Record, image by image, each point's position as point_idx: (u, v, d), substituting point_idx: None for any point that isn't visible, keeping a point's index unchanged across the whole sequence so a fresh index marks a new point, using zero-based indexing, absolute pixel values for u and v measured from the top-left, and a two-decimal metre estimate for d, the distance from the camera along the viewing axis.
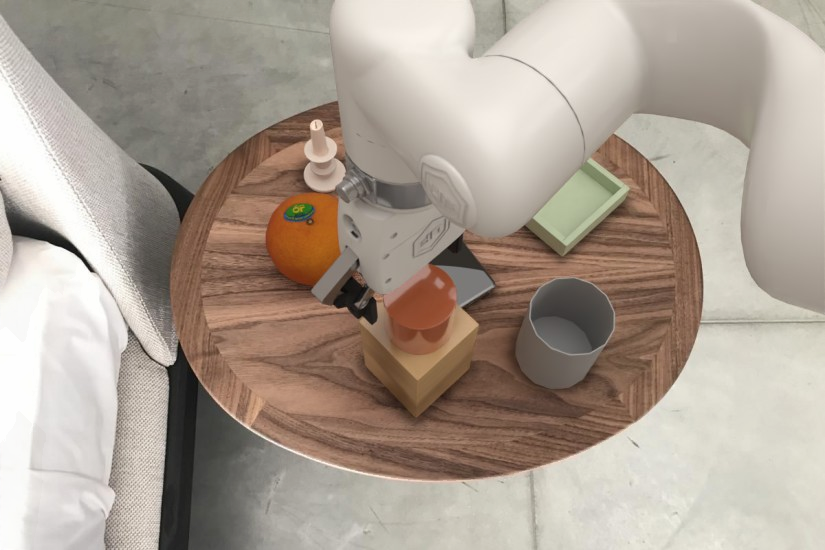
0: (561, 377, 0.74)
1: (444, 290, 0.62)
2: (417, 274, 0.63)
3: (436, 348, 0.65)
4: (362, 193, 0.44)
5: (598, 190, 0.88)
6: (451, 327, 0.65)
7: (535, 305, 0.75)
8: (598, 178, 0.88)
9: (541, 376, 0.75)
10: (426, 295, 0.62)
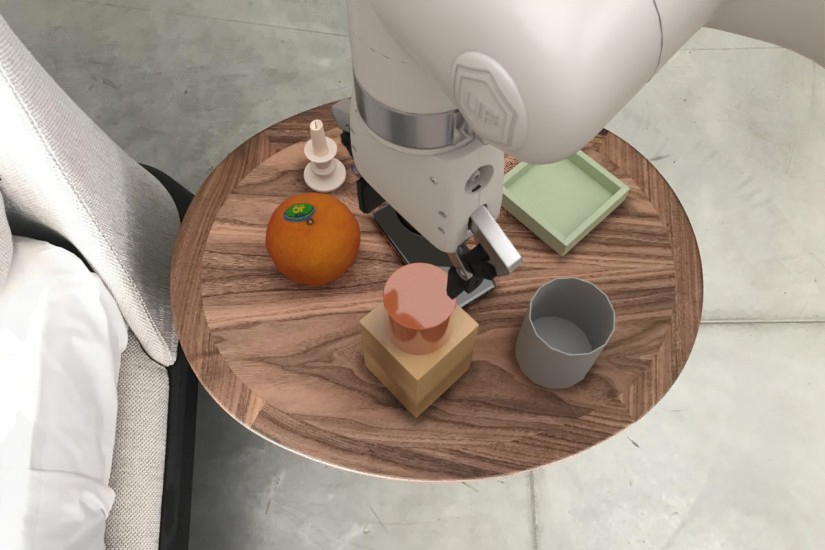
0: (561, 377, 0.74)
1: (444, 290, 0.62)
2: (417, 274, 0.63)
3: (436, 348, 0.65)
4: None
5: (598, 190, 0.88)
6: (451, 327, 0.65)
7: (535, 305, 0.75)
8: (598, 178, 0.88)
9: (541, 376, 0.75)
10: (426, 295, 0.62)
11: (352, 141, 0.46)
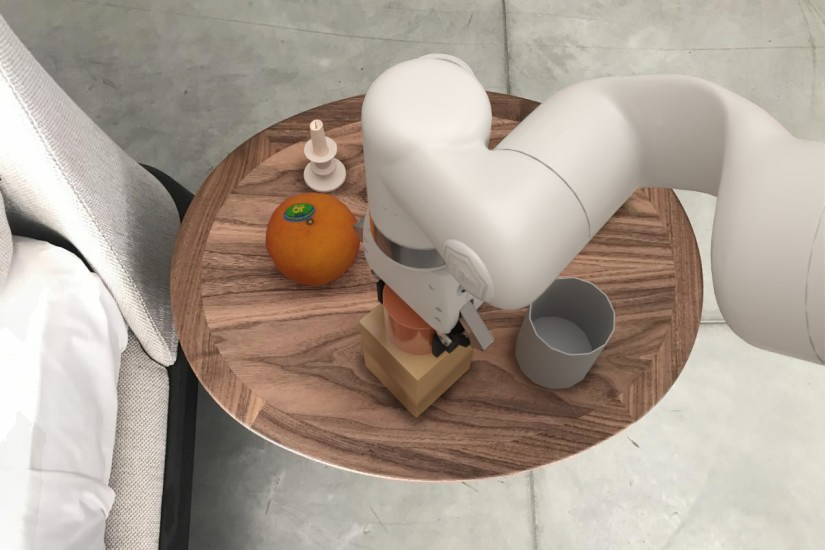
0: (561, 377, 0.74)
1: None
2: None
3: None
4: None
5: None
6: None
7: (535, 305, 0.75)
8: None
9: (541, 376, 0.75)
10: None
11: (364, 246, 0.58)
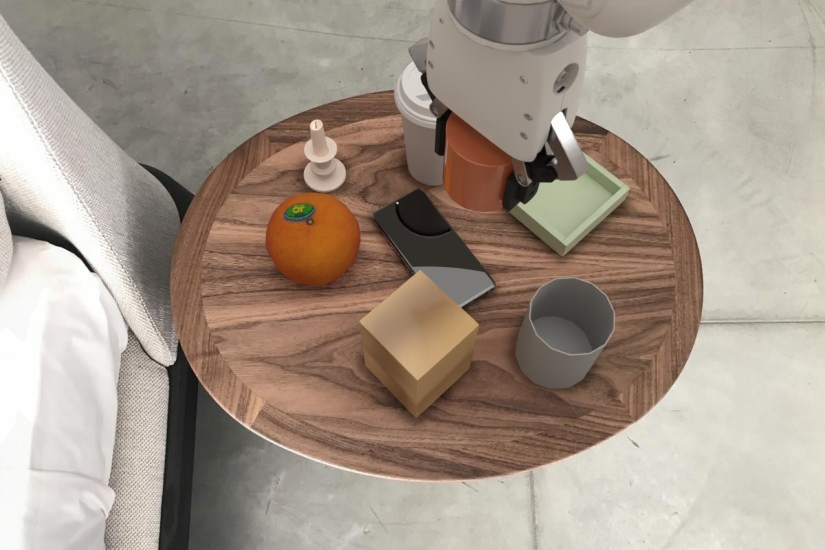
0: (561, 377, 0.74)
1: None
2: None
3: None
4: None
5: (598, 190, 0.88)
6: None
7: (535, 305, 0.75)
8: (598, 178, 0.88)
9: (541, 376, 0.75)
10: None
11: (429, 57, 0.48)
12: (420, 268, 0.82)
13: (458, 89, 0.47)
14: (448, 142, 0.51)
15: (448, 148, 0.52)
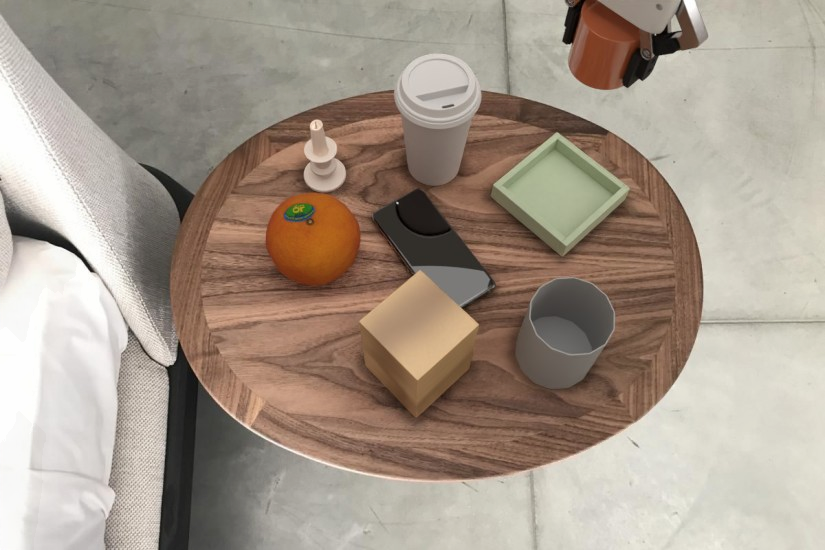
0: (561, 377, 0.74)
1: None
2: None
3: None
4: None
5: (598, 190, 0.88)
6: None
7: (535, 305, 0.75)
8: (598, 178, 0.88)
9: (541, 376, 0.75)
10: None
11: None
12: (420, 268, 0.82)
13: None
14: (584, 23, 0.62)
15: (583, 29, 0.63)
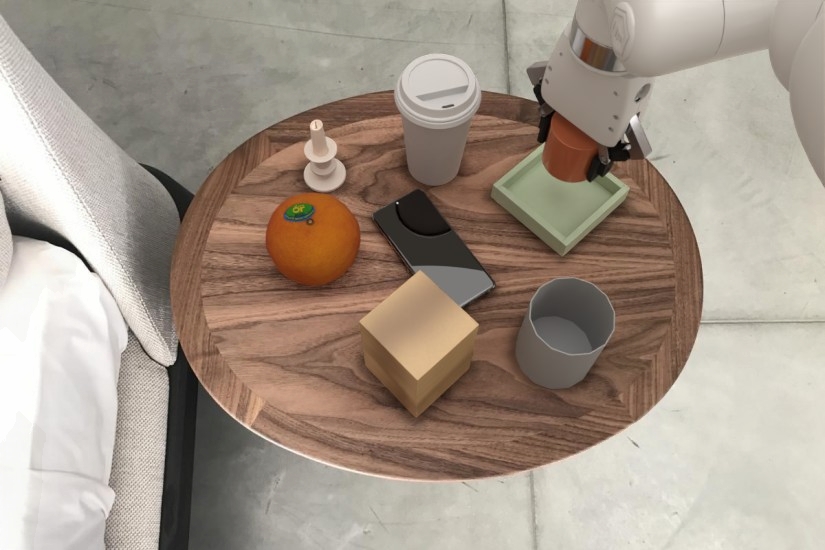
0: (561, 377, 0.74)
1: None
2: None
3: None
4: None
5: (598, 190, 0.88)
6: None
7: (535, 305, 0.75)
8: (598, 178, 0.88)
9: (541, 376, 0.75)
10: None
11: (546, 76, 0.72)
12: (420, 268, 0.82)
13: (566, 98, 0.71)
14: (553, 133, 0.75)
15: (552, 137, 0.76)
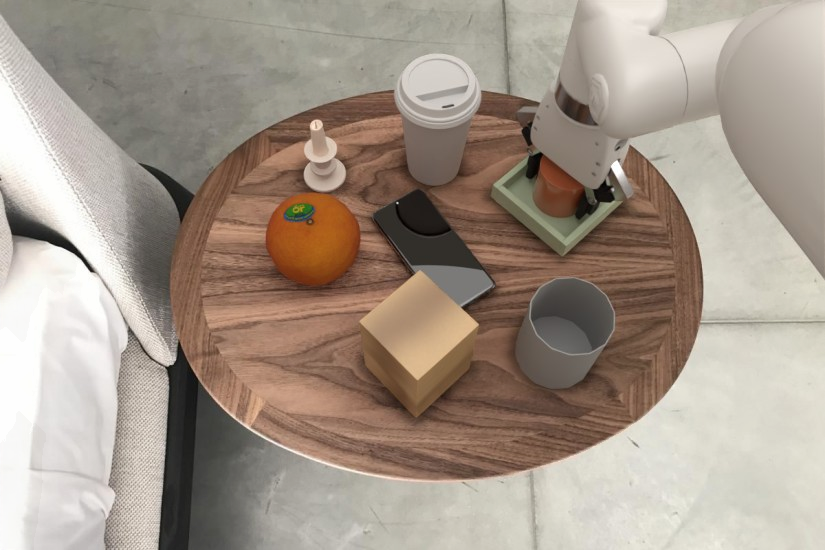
0: (561, 377, 0.74)
1: None
2: None
3: (574, 212, 0.86)
4: None
5: None
6: None
7: (535, 305, 0.75)
8: None
9: (541, 376, 0.75)
10: None
11: (535, 124, 0.78)
12: (420, 268, 0.82)
13: (553, 144, 0.78)
14: (542, 174, 0.82)
15: (541, 177, 0.82)
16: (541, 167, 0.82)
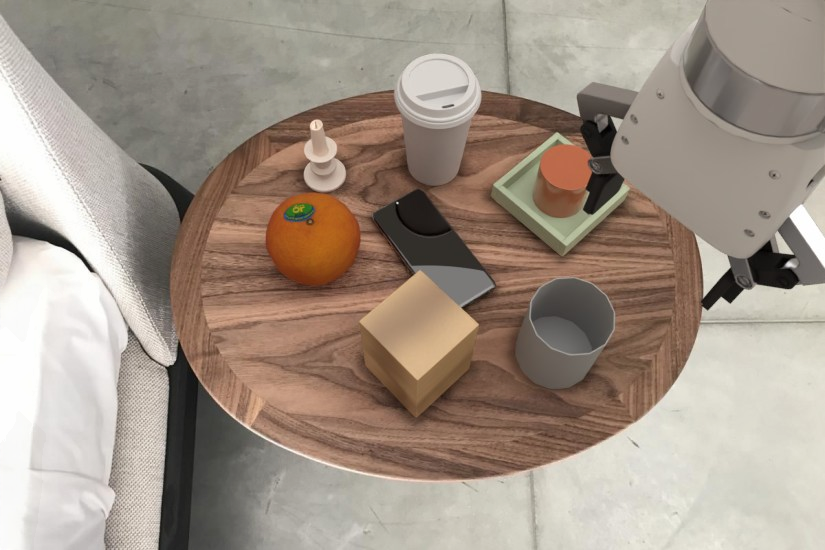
0: (561, 377, 0.74)
1: (586, 163, 0.82)
2: (564, 152, 0.83)
3: (574, 212, 0.86)
4: None
5: None
6: None
7: (535, 305, 0.75)
8: None
9: (541, 376, 0.75)
10: (573, 166, 0.82)
11: (625, 131, 0.40)
12: (420, 268, 0.82)
13: (662, 172, 0.39)
14: (542, 174, 0.82)
15: (541, 177, 0.82)
16: (541, 167, 0.82)
